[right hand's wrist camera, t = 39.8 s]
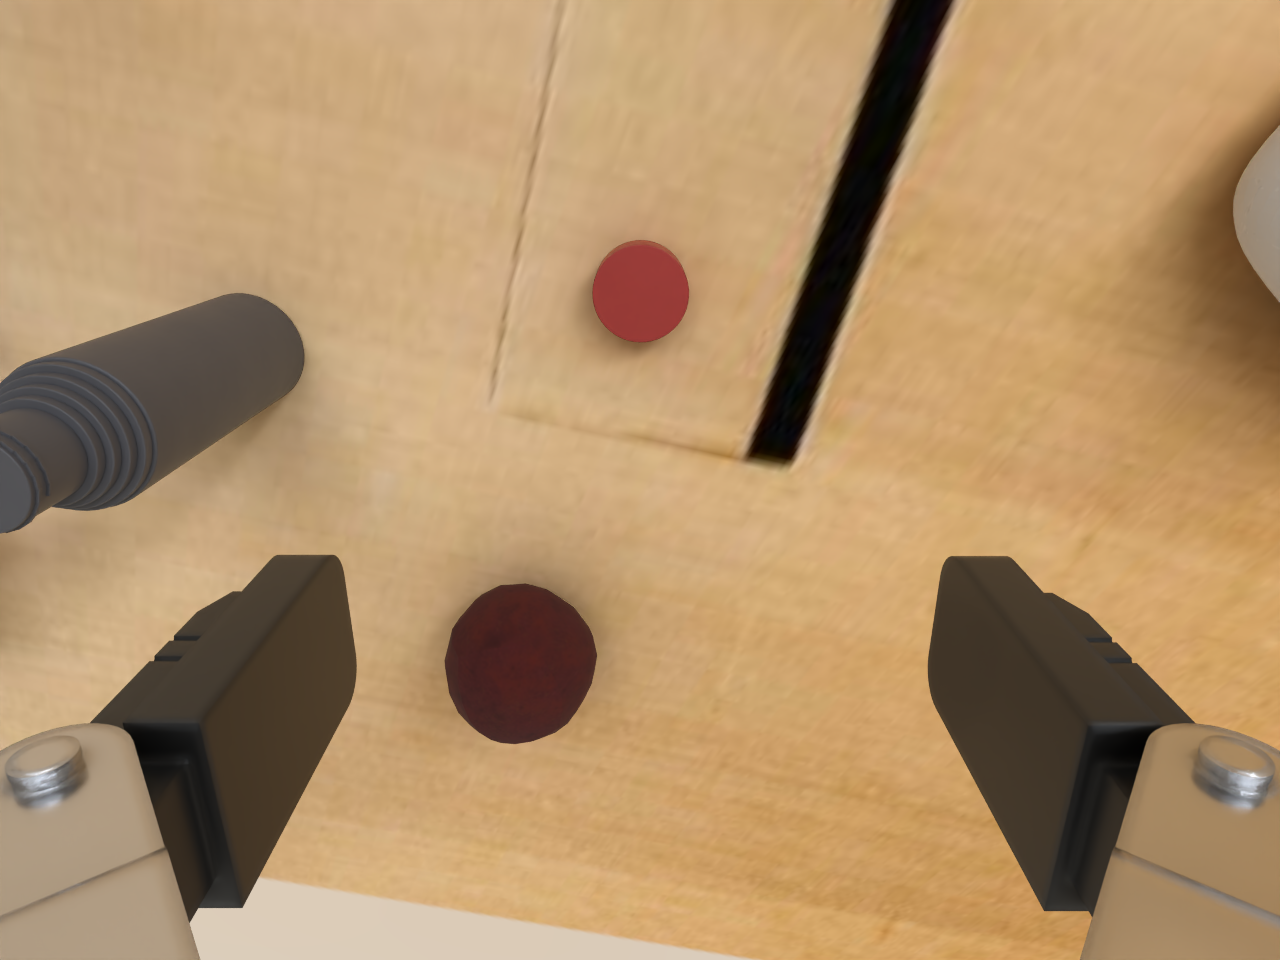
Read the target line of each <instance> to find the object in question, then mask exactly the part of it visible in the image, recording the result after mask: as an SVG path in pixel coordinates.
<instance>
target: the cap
mask: <svg viewBox="0 0 1280 960" xmlns="http://www.w3.org/2000/svg"><path fill="white" fill-rule="evenodd" d="M688 299H689V288H688V282H687V278H686V275H685V273H684V270H683V268H682V266H681V264H680V262H679V260H678V259H677V258H676V257H675V255H674V254H673V253H672V252H671V251H669V250H668V249H667V248H665V247H664V246H662V245H660V244H657V243H655V242H651V241H645V240H636V241H630V242H627V243H624V244H622V245H620V246H618V247H616V248H615V249H613V250H612V251H611V252H610V253H609V254H608V255H607V256H606V257H605V258H604V260H603V261H602V263H601V265H600V267H599V269H598V271H597V274H596V277H595V280H594V284H593V303H594V307H595V310H596V313H597V315H598V317H599V319H600V320H601V322H602V323H603V324H604V325H605V327H606V328H607V329H608V330H609V331H611V332H612V333H613V334H615V335H616V336H618V337H620V338H622V339H625V340H628V341H632V342H648V341H653V340H657V339H659V338H661V337H663V336H665V335H667V334H668V333H669V332H671V331H672V330H673V329H674V328H675V327H676V326H677V325H678V324H679V322H680V321H681V319H682V318H683V316H684V314H685V311H686V309H687V305H688Z"/></svg>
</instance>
